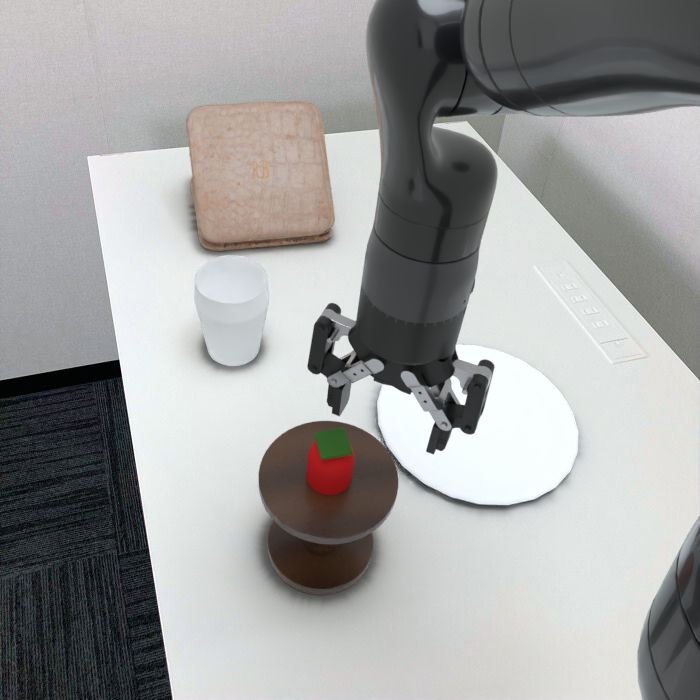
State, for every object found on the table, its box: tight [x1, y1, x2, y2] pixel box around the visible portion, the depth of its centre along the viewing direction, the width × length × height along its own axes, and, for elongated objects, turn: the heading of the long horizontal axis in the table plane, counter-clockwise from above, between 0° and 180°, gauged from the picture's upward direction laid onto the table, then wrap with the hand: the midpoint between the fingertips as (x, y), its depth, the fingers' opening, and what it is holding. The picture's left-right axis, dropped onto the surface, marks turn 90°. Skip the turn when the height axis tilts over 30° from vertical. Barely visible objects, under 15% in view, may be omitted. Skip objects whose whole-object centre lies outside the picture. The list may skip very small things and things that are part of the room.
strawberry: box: [306, 428, 355, 495], centre depth 66 cm, size 4×4×5 cm
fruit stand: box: [258, 420, 399, 596], centre depth 73 cm, size 13×13×13 cm
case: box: [185, 100, 336, 252], centre depth 111 cm, size 20×21×16 cm
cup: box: [193, 254, 270, 367], centre depth 92 cm, size 9×9×12 cm
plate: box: [376, 343, 579, 507], centre depth 91 cm, size 25×25×1 cm
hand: (386, 426), depth 62 cm, fingers open, 8 cm apart
